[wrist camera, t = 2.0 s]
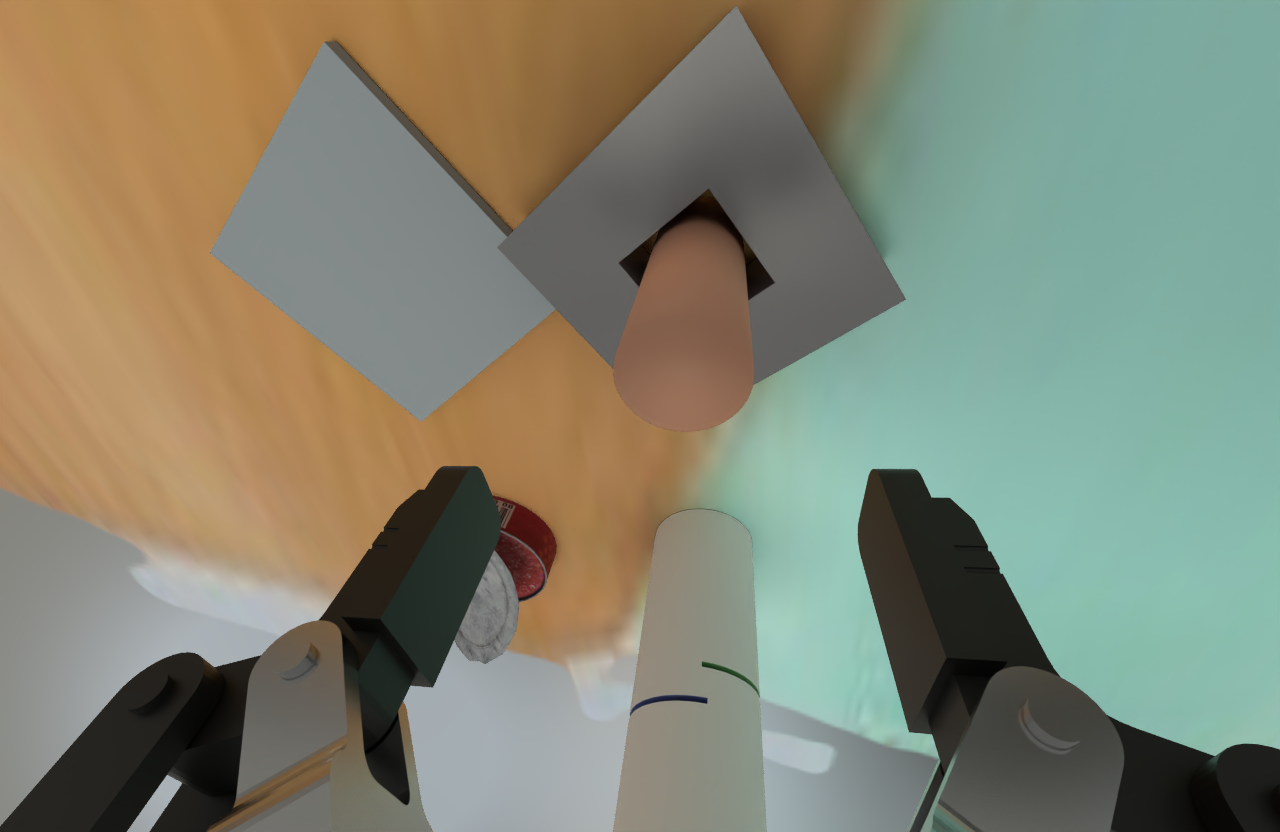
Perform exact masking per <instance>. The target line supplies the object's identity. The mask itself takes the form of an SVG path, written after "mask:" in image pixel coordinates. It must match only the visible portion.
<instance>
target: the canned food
mask: <svg viewBox="0 0 1280 832" xmlns="http://www.w3.org/2000/svg"><path fill="white" fill-rule="evenodd" d="M493 498H494V501H495V503H496V506H497V508H498V510H499V513H500V517H501V532H500V537H499V540H498V543H497V545H496V547H495V549H494V552H493V554H492V556H491V558H490V561H489V563H488V565H487V567H486V569H485V572H484V574H483V576H482V578H481V581H480V583H479V585H478V587H477V590H476V592H475V594H474V596H473V599H472V601H471V603H470V605H469V608H468V610H467V612H466V614H465V617H464V619H463V621H462V623H461V626H460V628H459V630H458V632H457V635H456V637H455V639H454V640H455V642H456V645H457V647H458V648H459V649H460V650H461V652H462V653H463V654H464V655H465V656H466V658H467V659H468V660H470V661H480V662H482V663H484V664H486V663H488V662H489V661H491V660H493V659H495V658H496V657H498V656H500V655H502V654H503V652H504V651H505V649H506V648H507V646H508V645H509V643H510V641H511V639H512V638H513V636H514V634H515V632H516V628H517V621H518V611H519V602H521V601H525V600H528V599H531V598H533V597H535V596H536V595H538V594H539V593H540V592H541V591H542V590H543V589H544V587H545V585H546V583H547V578H548V575H549V572H550V569H551V566H552V563H553V560H554V557H555V554H556V547H557V545H556V541H555V537H554V535H553V533H552V531H551V530H550V528H549V527H548V526H547V525H546V523H545V522H544V521H543V520H542V519H541V518H539V517H538V516H537V515H536V514H535V513H533V512H532V511H530V510H529V509H527V508H526V507H524V506H521V505H519V504H517V503H515V502H513V501H510V500H507V499H504V498H501V497H496V496H493Z"/></svg>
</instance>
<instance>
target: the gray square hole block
mask: <svg viewBox="0 0 1280 832" xmlns="http://www.w3.org/2000/svg"><path fill="white" fill-rule="evenodd" d="M707 189H709V190H710V191H711V192H712V194H713V195H714V197H715V198H716V199H717V201H718V202H719V204H720V205H721V207H722V208H723V209H724V211H725V212H726V214H727V215H728V217H729V218H730V219H731V221H732V222H733V224H734V225H735V226H736V228H737V229H738V231H739V232H740V234H741V235H742V236H743V238H744V239H745V241H746V242H747V244H748V245H749V246H750V248H751V249H752V251H753V252H754V253H755V255H756V256H757V258H756V259H755V260H754V261H752V262H751V263H749V264H748V265H747V266H745V268H746V280H747V291H748V303H749V315H750V327H751V339H752V351H753V363H754V382H753V385H754V384H756V383H758V382H760V381H761V380H763V379H765V378H767V377H768V376H770V375H772V374H774V373H776V372H777V371H779V370H781V369H783V368H785V367H786V366H788V365H790V364H792V363H793V362H795V361H797V360H799V359H801V358H802V357H804V356H806V355H808V354H809V353H811V352H813V351H815V350H817V349H818V348H820V347H822V346H824V345H826V344H827V343H829V342H831V341H833V340H834V339H836V338H838V337H840V336H842V335H843V334H845V333H847V332H849V331H850V330H852V329H854V328H856V327H858V326H859V325H861V324H863V323H865V322H867V321H868V320H870V319H872V318H874V317H875V316H877V315H879V314H881V313H883V312H884V311H886V310H888V309H890V308H891V307H893V306H895V305H897V304H899V303H900V302H902V301H904V300H906V299H905V297H904V295H903V293H902V292H901V290H900V288H899V286H898V285H897V283H896V281H895V280H894V278H893V276H892V274H891V273H890V271H889V269H888V267H887V266H886V264H885V262H884V260H883V259H882V257H881V255H880V254H879V252H878V250H877V248H876V247H875V245H874V243H873V241H872V240H871V238H870V236H869V235H868V233H867V231H866V229H865V228H864V226H863V224H862V222H861V221H860V219H859V217H858V215H857V214H856V212H855V210H854V209H853V207H852V205H851V203H850V202H849V200H848V198H847V196H846V195H845V193H844V191H843V190H842V188H841V186H840V184H839V183H838V181H837V179H836V177H835V176H834V174H833V172H832V170H831V169H830V167H829V165H828V164H827V162H826V160H825V158H824V157H823V155H822V153H821V151H820V150H819V148H818V146H817V145H816V143H815V141H814V139H813V138H812V136H811V134H810V132H809V131H808V129H807V127H806V125H805V124H804V122H803V120H802V119H801V117H800V115H799V113H798V112H797V110H796V108H795V106H794V105H793V103H792V101H791V100H790V98H789V96H788V94H787V93H786V91H785V89H784V87H783V86H782V84H781V82H780V80H779V79H778V77H777V75H776V74H775V72H774V70H773V68H772V67H771V65H770V63H769V61H768V60H767V58H766V56H765V55H764V53H763V51H762V49H761V48H760V46H759V44H758V42H757V41H756V39H755V37H754V35H753V34H752V32H751V30H750V29H749V27H748V25H747V23H746V22H745V20H744V18H743V16H742V15H741V13H740V11H739V10H738V8H737V6H736V7H735V8H734V9H733V10H732V11H731V12H730V13H729V14H728V15H727V16H726V17H725V18H724V19H723V20H722V21H721V22H720V23H719V24H718V25H717V26H716V27H715V28H714V29H713V30H712V31H711V32H710V33H709V34H708V35H707V36H706V37H705V38H704V39H703V40H702V41H701V42H700V43H699V44H698V45H697V46H696V47H695V48H694V49H693V50H692V51H691V52H690V53H689V54H688V55H687V56H686V57H685V58H684V59H683V60H682V61H681V62H680V63H679V64H678V65H677V66H676V67H675V68H674V69H673V70H672V71H671V72H670V73H669V74H668V75H667V76H666V77H665V78H664V79H663V80H662V81H661V82H660V83H659V84H658V85H657V86H656V87H655V88H654V89H653V90H652V91H651V92H650V93H649V94H648V95H647V96H646V97H645V98H644V100H643V101H642V102H641V103H640V104H639V105H638V106H637V107H636V108H635V109H634V110H633V111H632V112H631V113H630V114H629V115H628V116H627V117H626V118H625V119H624V120H623V121H622V122H621V123H620V124H619V125H618V126H617V127H616V128H615V129H614V130H613V131H612V132H611V133H610V134H609V135H608V136H607V137H606V138H605V139H604V140H603V141H602V142H601V143H600V144H599V145H598V146H597V147H596V148H595V149H594V150H593V151H592V152H591V153H590V154H589V155H588V156H587V157H586V158H585V159H584V160H583V161H582V162H581V163H580V164H579V165H578V166H577V167H576V168H575V169H574V170H573V171H572V172H571V173H570V174H569V175H568V176H567V177H566V178H565V179H564V180H563V181H562V182H561V183H560V184H559V185H558V186H557V187H556V188H555V189H554V190H553V191H552V192H551V193H550V194H549V196H548V197H547V198H546V199H545V200H544V201H543V202H542V203H541V204H540V205H539V206H538V207H537V208H536V209H535V210H534V211H533V212H532V213H531V214H530V215H529V216H528V217H527V218H526V219H525V220H524V221H523V222H522V223H521V224H520V225H519V226H518V227H517V228H516V229H515V230H514V231H513V232H512V233H511V234H510V235H509V236H508V237H507V238H506V239H505V240H504V241H503V242H502V243H501V244H500V245H499V246H498V247H497V248H498V249H499V250H500V251H501V252H502V253H503V254H504V255H505V257H506V258H507V259H508V260H509V261H510V262H511V263H512V264H513V265H514V266H515V267H516V268H517V269H518V270H519V271H520V272H521V273H522V274H523V275H524V276H525V277H526V278H527V279H528V281H529V282H530V283H531V284H532V285H533V286H534V287H535V288H536V289H537V290H538V291H539V292H540V293H541V294H542V295H543V296H544V297H545V298H546V299H547V300H548V301H549V302H550V303H551V305H552V306H553V307H554V308H555V309H556V310H557V311H558V312H559V313H560V314H561V315H562V316H563V317H564V318H565V319H566V320H567V321H568V322H569V323H570V324H571V325H572V326H573V327H574V329H575V330H576V331H577V332H578V333H579V334H580V335H581V336H582V337H583V338H584V339H585V340H586V341H587V342H588V343H589V344H590V345H591V346H592V347H593V348H594V349H595V350H596V351H597V353H598V354H599V355H600V356H601V357H602V358H603V359H604V360H605V361H606V362H607V363H608V364H609V365H610V366H611V367H612V368H613V364H614V358H615V355H616V351H617V349H618V346H619V343H620V340H621V337H622V334H623V332H624V329H625V326H626V323H627V320H628V318H629V315H630V312H631V309H632V306H633V303H634V301H635V298H636V295H637V292H638V289H639V287H640V284H641V281H642V278H643V275H644V272H645V270H646V267H647V264H648V261H649V258H650V256H651V255H650V254H649V253H648V252H647V250H646V249H645V248H644V247H643V245H642V243H643V242H644V241H646V240H647V239H648V238H649V237H651V236H652V235H653V234H654V233H655V232H657V231H658V230H659V229H660V228H661V227H663V226H664V225H665V224H666V223H667V222H669V221H670V220H671V219H672V218H674V217H675V216H676V215H677V214H678V213H680V212H681V211H682V210H683V209H684V208H686V207H687V206H688V205H689V204H691V203H692V202H693V201H694V200H695V199H697V198H698V197H699V196H700V195H701V194H703V193H704V192H705V191H706V190H707Z"/></svg>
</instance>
